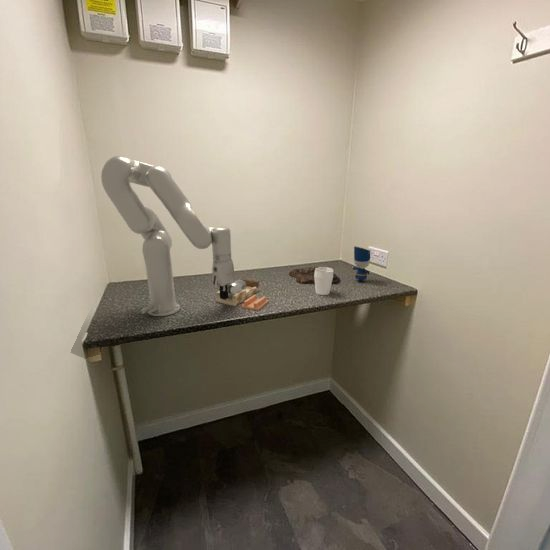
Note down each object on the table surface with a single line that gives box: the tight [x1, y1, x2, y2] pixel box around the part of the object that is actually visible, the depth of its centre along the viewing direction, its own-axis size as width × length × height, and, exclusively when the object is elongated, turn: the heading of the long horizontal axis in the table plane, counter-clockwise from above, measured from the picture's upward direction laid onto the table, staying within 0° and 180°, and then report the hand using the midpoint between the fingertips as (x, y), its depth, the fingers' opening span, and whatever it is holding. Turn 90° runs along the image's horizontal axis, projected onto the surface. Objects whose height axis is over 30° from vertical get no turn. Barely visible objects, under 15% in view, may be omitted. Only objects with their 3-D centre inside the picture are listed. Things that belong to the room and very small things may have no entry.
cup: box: [314, 266, 334, 296], centre depth 138 cm, size 9×9×12 cm
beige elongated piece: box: [215, 278, 260, 307], centre depth 133 cm, size 21×10×5 cm, turn 154°
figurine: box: [352, 246, 372, 282], centre depth 153 cm, size 13×9×20 cm
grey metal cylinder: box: [228, 279, 247, 299], centre depth 129 cm, size 10×6×6 cm, turn 154°
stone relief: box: [288, 266, 341, 286], centre depth 162 cm, size 26×4×30 cm
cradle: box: [241, 294, 270, 312], centre depth 124 cm, size 10×8×3 cm
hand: (224, 298), depth 123 cm, fingers closed
